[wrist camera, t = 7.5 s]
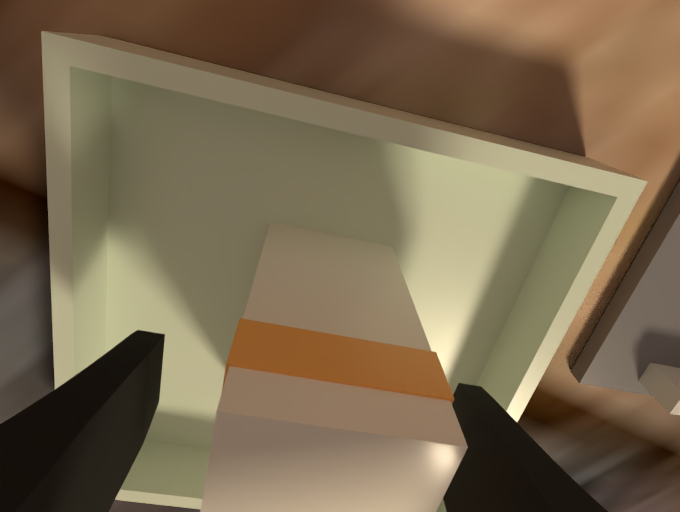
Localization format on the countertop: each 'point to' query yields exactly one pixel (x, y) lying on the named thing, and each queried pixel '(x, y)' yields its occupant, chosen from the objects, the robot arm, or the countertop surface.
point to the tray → (300, 211)
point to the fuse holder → (642, 321)
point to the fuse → (331, 388)
